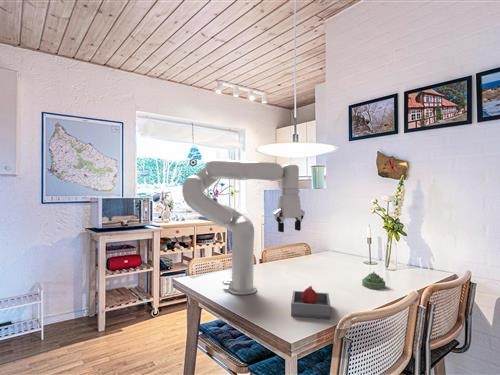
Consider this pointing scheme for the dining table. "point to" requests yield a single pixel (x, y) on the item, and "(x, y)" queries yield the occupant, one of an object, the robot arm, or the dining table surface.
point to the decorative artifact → (373, 282)
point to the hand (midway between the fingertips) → (289, 231)
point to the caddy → (311, 306)
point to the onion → (309, 296)
